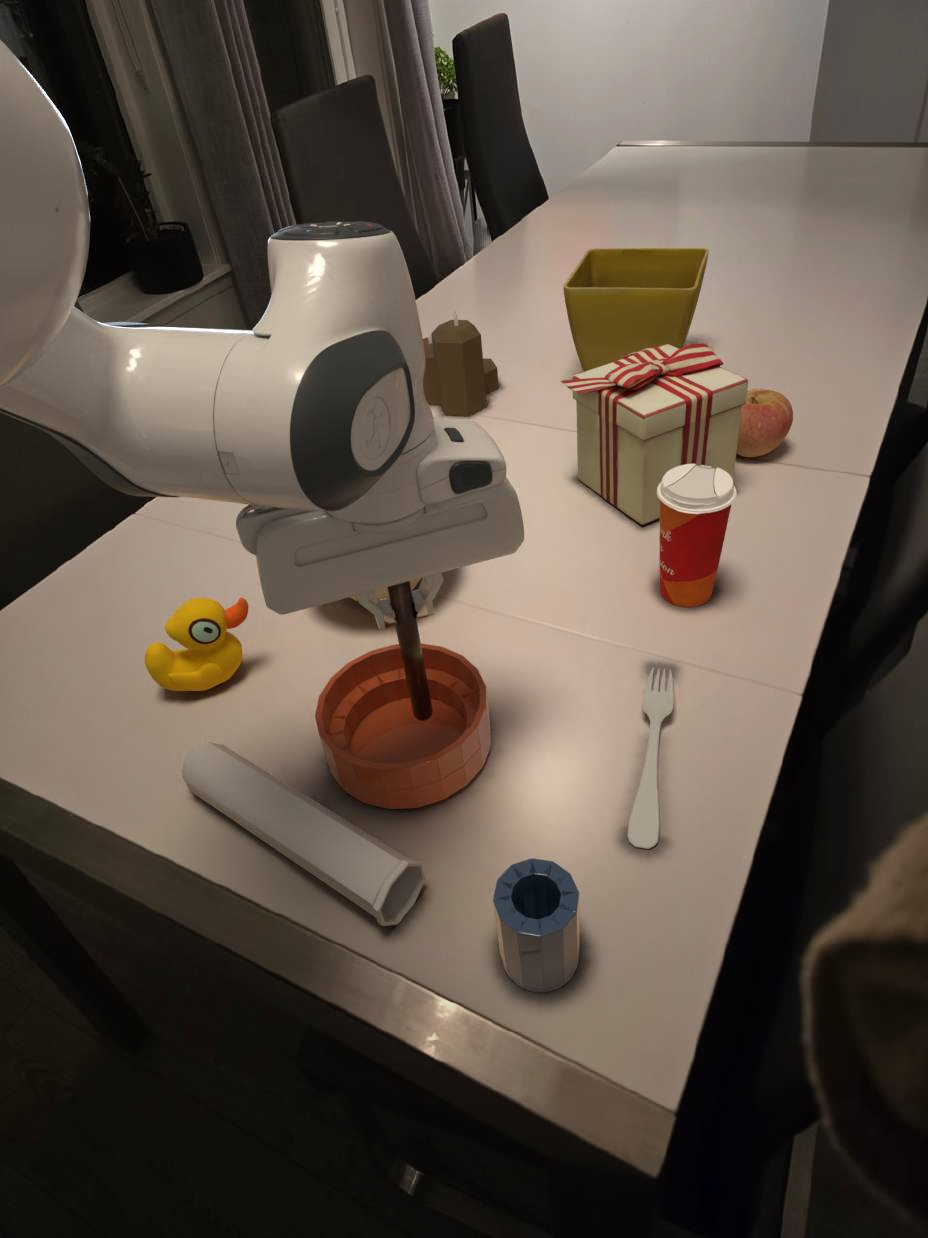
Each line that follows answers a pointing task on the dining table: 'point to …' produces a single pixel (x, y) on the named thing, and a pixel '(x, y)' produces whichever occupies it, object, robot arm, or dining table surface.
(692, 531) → the paper cup
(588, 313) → the flower pot
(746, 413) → the apple
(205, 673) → the duckling
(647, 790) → the fork
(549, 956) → the crock
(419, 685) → the stirring stick
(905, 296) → the dining table surface
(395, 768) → the orange round shallow dish
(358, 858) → the tube
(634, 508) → the gift box
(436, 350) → the candle
